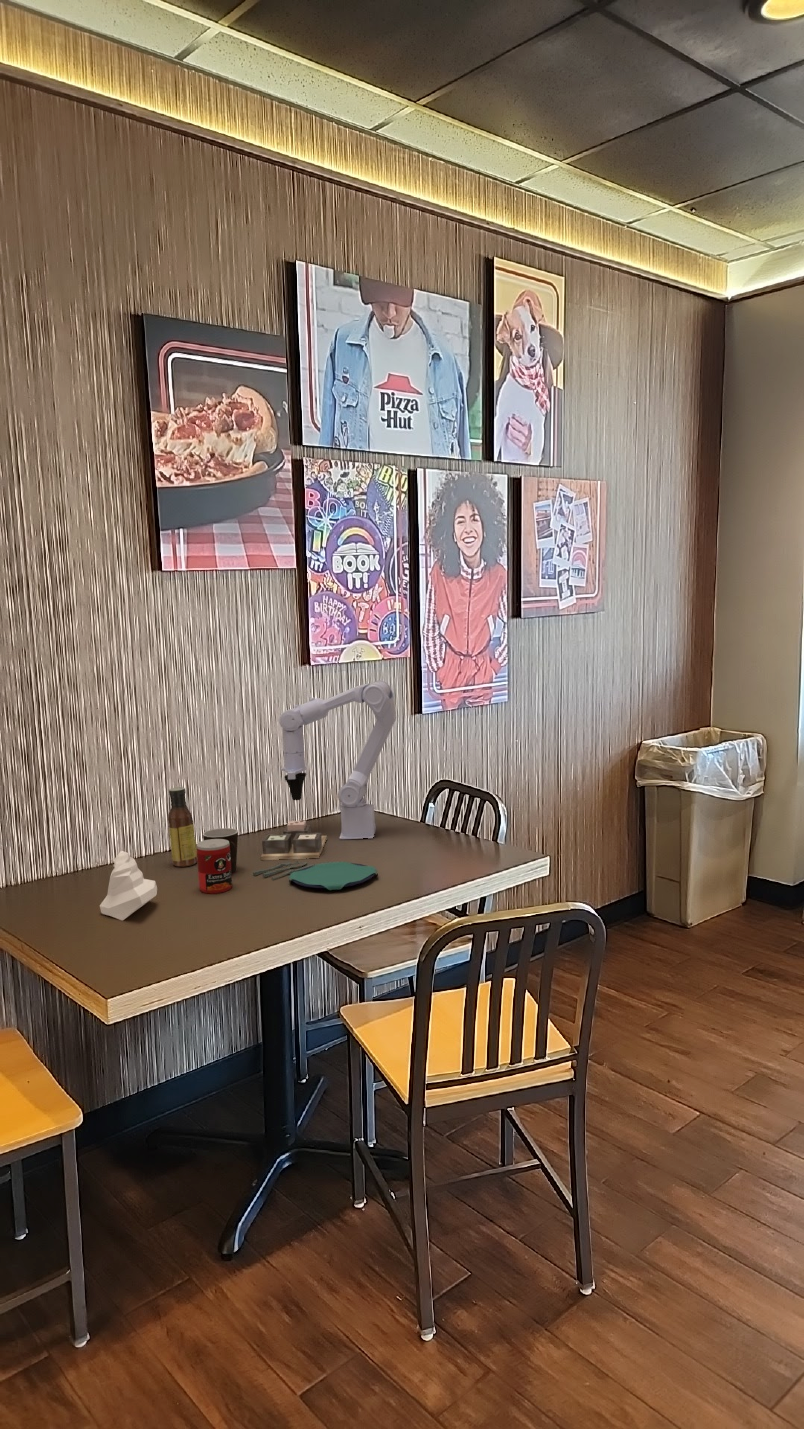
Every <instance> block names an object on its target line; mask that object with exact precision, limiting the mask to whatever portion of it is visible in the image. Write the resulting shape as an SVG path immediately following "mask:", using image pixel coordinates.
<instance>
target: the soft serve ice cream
mask: <svg viewBox="0 0 804 1429" xmlns="http://www.w3.org/2000/svg"><path fill="white" fill-rule="evenodd" d="M112 862H113V863H114V864H113V865H112V867H114V868H113V869H112V871H111V874H110V877H109V881H108V882H109V883H108V886H107V887H108V888H107V895H106V896H105V898H104V899H103V900H102V901H101V903H100V905H99V909H100V913H101V914H102V915H104V916H105V915H106V916H110V917H112V918H114V919H117V920H119V921H124V920H126V919H127V918H128V917H130V916H131V915H133V913H135V912H136V911H137V910H139V909H140V908H141V907H144V905H146V904H147V903H148V902H150V901H151V900H152V899H153V898H155V897H157V892H158V886H157V882H156V880H152V879H147V878H144V874H143V872H142V871H141V870H140V869H139V868H138V867H139V866H138V863H137V862H136V860H135V858H133V857H131V855H130V853H129V852H126V851H123V850H120V851H119V852H118V854H117V855H116V857H115V858H114V860H113V861H112Z"/></svg>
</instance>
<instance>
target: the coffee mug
mask: <svg viewBox="0 0 804 1429" xmlns="http://www.w3.org/2000/svg"><path fill="white" fill-rule="evenodd" d="M238 836H239V830H238V829H236V828H231V827H222V828H221V827H219V828H214V829H210V830H206V831H204V832H203V833H202V837H203V841H204V840H210V839H225V840H228V841H229V844H230V857H231V873H232V874H234V873H236V872H237V860H238V859H237V858H238V857H237V856H238V840H239V838H238Z"/></svg>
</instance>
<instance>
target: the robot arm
mask: <svg viewBox="0 0 804 1429" xmlns="http://www.w3.org/2000/svg"><path fill="white" fill-rule="evenodd" d="M352 702H355V703H357V704H358V703H359V704H363V703H365V704H366V705H367V706H368V707H369V708H370V709H371V711H372V712H373V714H374V717H375V719H376V720H375V723H374V726H373V727H372V730H371V732H370V733H369V736H368V738H367V740H366V742H365V744H364V746H363V749H362V751H361V753H360V755H359V757H358V760H357V762H356V764H355V766H354V768H353V769H352V772H351V773H350V775H349V777H348V779H347V781H346V783H344V784H343V785H342V786H341V787H340V788H339V789H338V793H337V794H338V796H337V797H338V800H339V803H340V821H341V823H340V824H341V833H340V834H339V835H340V836H339V838H338V839H339V840H359V839H360V840H362V839H363V838H368V839H374V838H375V835H374V834H376V831H377V829H376V828H377V826H376V823H375V822H376V821H375V806H374V804H373V803H370V804H369V803H367V800H366V799H365V797H366V794H367V792H368V791H367V790H368V789H367V788H368V787H367V785H368V782H369V780H370V776H371V773H372V771H373V768H374V767H375V765H376V763H377V760H378V759H379V756H380V754H381V752H382V750H383V748H384V746H385V743H386V741H387V739H388V737H389V735H390V732H391V730H392V729H393V726H394V724H395V722H396V719H397V715H396V714H397V713H396V706H395V694H394V692H393V690H392V688H391V686H390V685H389V683H388V682H387V681H385V680H382V679H381V680H375V681H373V682H372V683H371V682H369V683H364V684H360V685H357V686H354V687H352V688H349V689H347V690H345V691H343V692H341V693H337V694H336V695H334V696H332V697H329V698H327V699H323V698H320V697H317V698H316V697H315V696H313V697H310V698H309V701H307V702H305V703H302V704H296V705H294V706H293V708H290V709H287V710H285V711H284V712H282V713H281V714H280V717H279V724H280V727H281V728H282V740H283V741H282V742H283V743H282V745H283V747H282V748H283V760H284V766H282V767H280V772H281V771H282V772H285V773H286V774H285V775H284V780H285V782H286V784H287V786H288V789H289V792H290V795H291V798H292V800H293V801H300V800H301V799H302V794H303V786H304V782H305V779H306V777H307V772H305V771H306V770H307V766H306V756H305V740H304V739H305V738H304V727H303V726H307V725H310V724H312V723H315V722H316V721H320V720H322V719H324V718H326V717H327V716H328V714H329V712H330V711H331V710H334V709H337V708H339V707H340V708H341V707H342V706H344V705H347V704H350V703H352ZM373 837H374V838H373Z"/></svg>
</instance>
